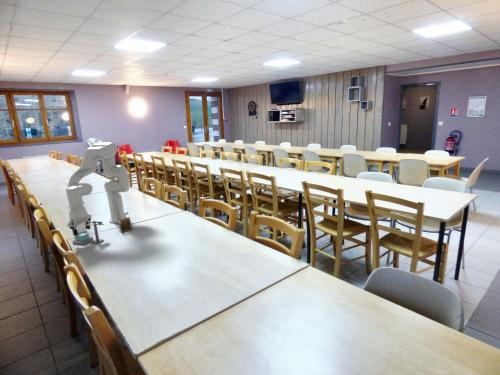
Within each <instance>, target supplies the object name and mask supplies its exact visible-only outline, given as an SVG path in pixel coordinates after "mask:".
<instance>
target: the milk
mask: <svg viewBox="0 0 500 375" xmlns="http://www.w3.org/2000/svg"><path fill="white" fill-rule="evenodd" d="M67 209H68V211H69V210H70V206H69V205H68V208H67ZM85 223H86V222H84V223H82V224H80V225H77V227H76V229H77V232H78V235H80V234H82V233H85V232H87V231H88V229H86V226H84V224H85Z"/></svg>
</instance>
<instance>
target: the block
mask: <svg viewBox="0 0 500 375" xmlns="http://www.w3.org/2000/svg"><path fill="white" fill-rule="evenodd" d="M89 237H90V236H89V233H85V232H82V233H80V234H78V235H77V239H79V241H80V242H83V241H85V240H87V239H89Z"/></svg>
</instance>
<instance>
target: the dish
mask: <svg viewBox="0 0 500 375" xmlns="http://www.w3.org/2000/svg"><path fill="white" fill-rule="evenodd" d="M88 237H89V239H87V240H85V241H83V242H80V241H79V239H78V238H77V239H75V240H72V244H73V245H80V246H83V245H85V244H89V243H90V242H92V241H94V238H93V237H91V236H88Z"/></svg>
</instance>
